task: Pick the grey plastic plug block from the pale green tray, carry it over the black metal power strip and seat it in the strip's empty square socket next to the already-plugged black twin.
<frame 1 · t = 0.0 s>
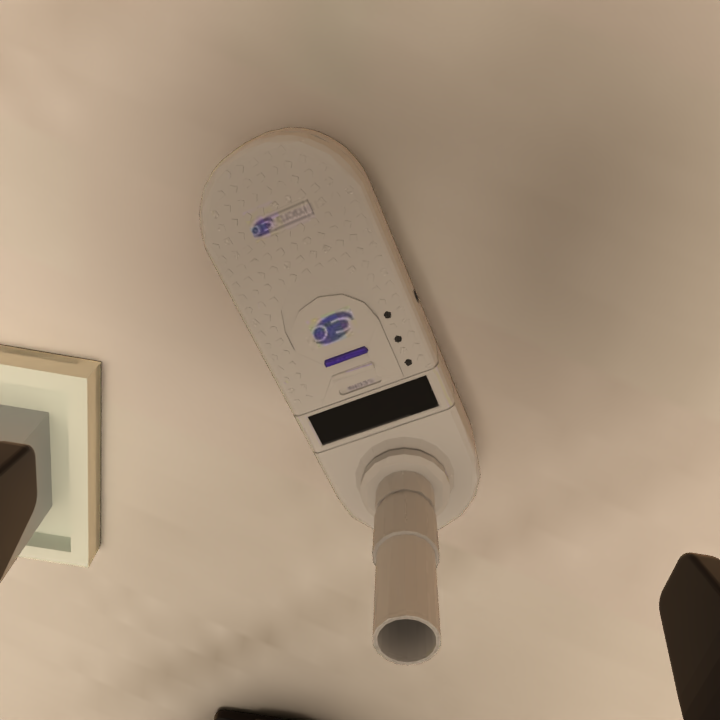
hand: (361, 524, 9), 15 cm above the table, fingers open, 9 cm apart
electronic device: (354, 330, 25), on the table
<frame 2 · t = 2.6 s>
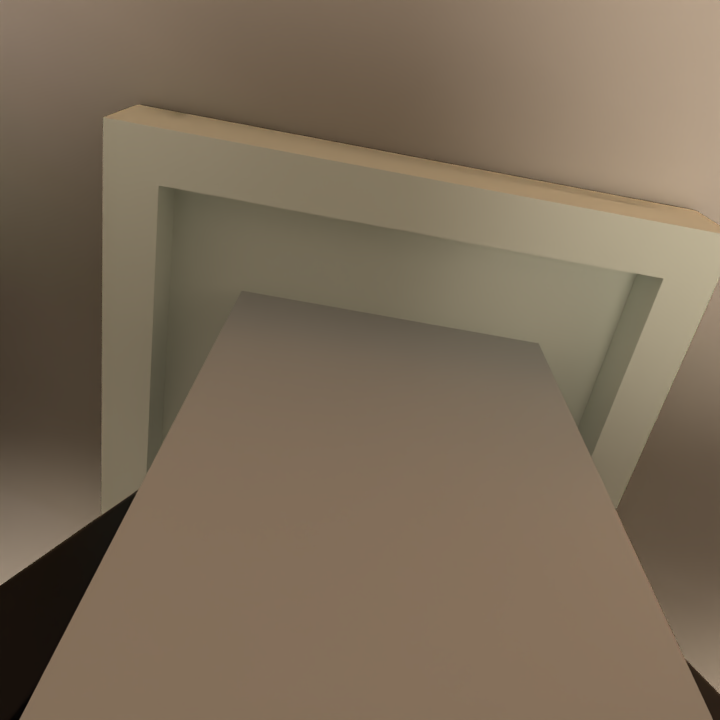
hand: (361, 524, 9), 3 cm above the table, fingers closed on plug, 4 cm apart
tray: (365, 424, 12), on the table
plug: (364, 441, 11), resting on tray, touching gripper
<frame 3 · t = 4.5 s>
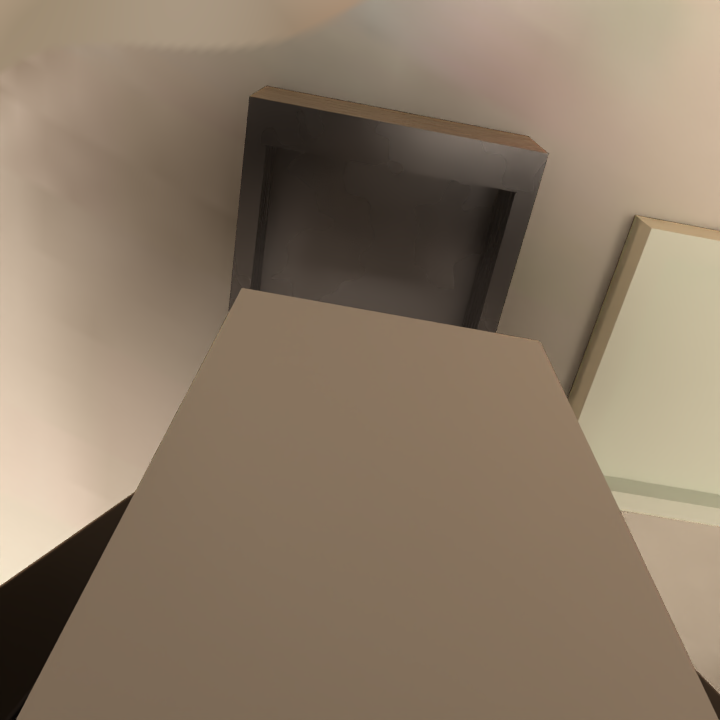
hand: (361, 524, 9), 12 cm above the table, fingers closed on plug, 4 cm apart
tray: (707, 379, 21), on the table
plug: (365, 439, 11), point 10 cm above the table, touching gripper
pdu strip: (342, 401, 22), on the table
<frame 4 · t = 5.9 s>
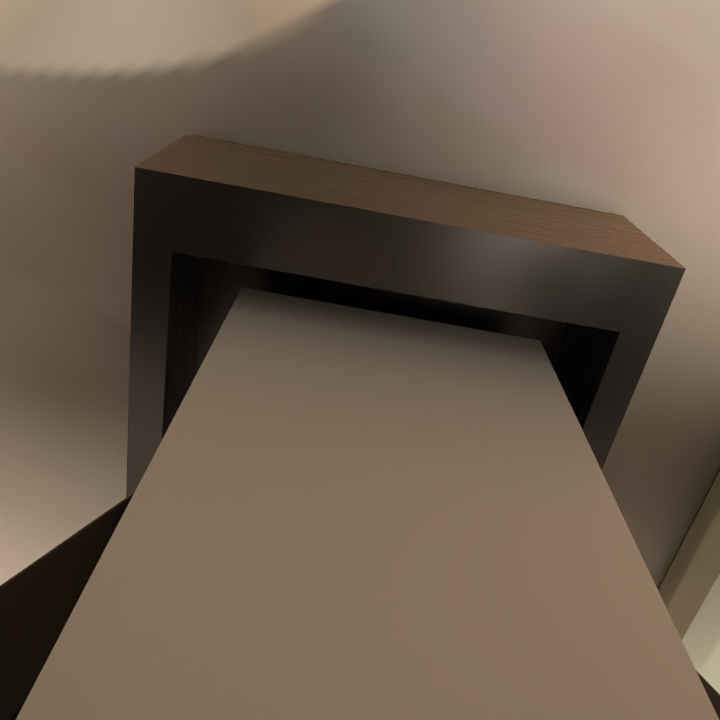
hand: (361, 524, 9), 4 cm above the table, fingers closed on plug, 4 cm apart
plug: (365, 439, 11), point 2 cm above the table, touching gripper
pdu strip: (323, 589, 15), on the table
when the fingers open (3 cm above the table, at t = 6.6 s): plug stays where it is, resting on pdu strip.
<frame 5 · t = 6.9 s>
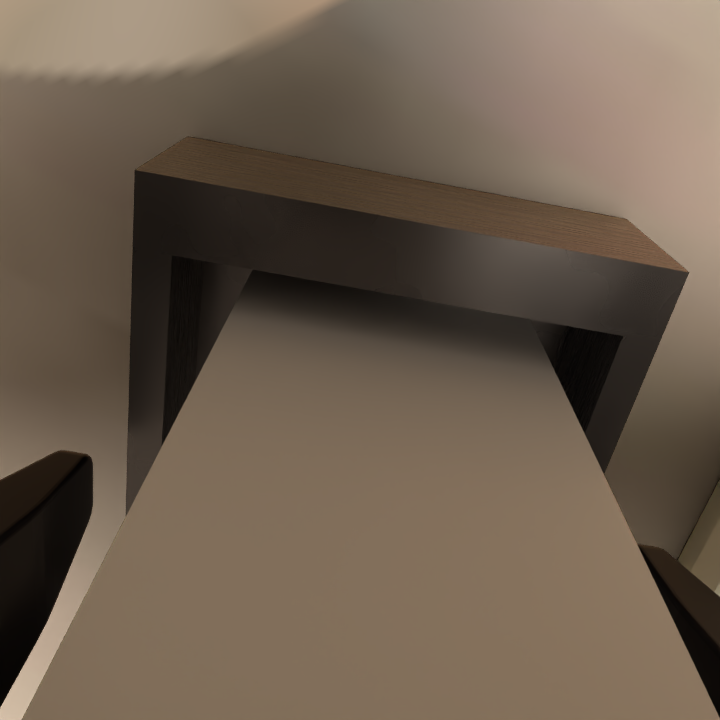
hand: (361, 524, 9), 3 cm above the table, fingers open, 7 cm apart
plug: (367, 408, 12), resting on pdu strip
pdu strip: (323, 592, 15), on the table
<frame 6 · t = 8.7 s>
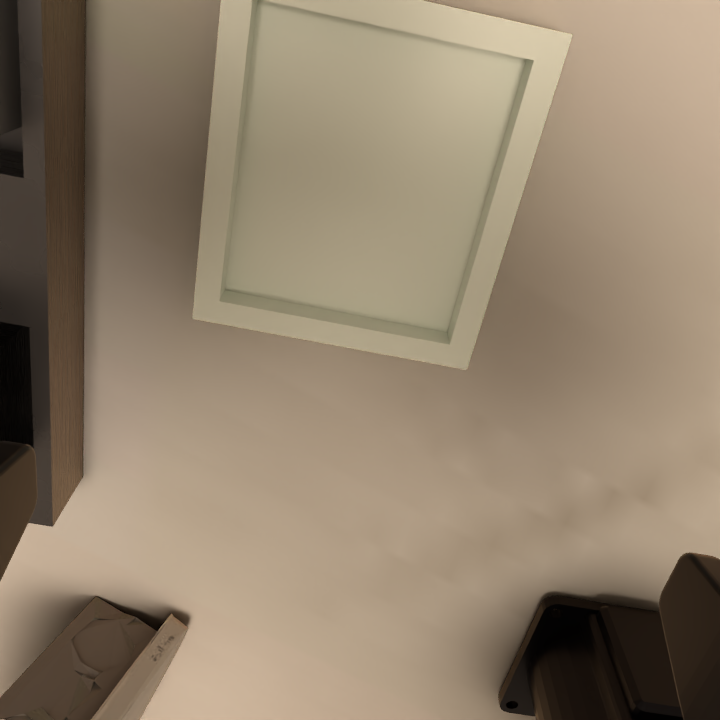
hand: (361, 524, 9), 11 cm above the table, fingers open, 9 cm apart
electrical switch: (96, 660, 29), on the table
tray: (363, 179, 19), on the table
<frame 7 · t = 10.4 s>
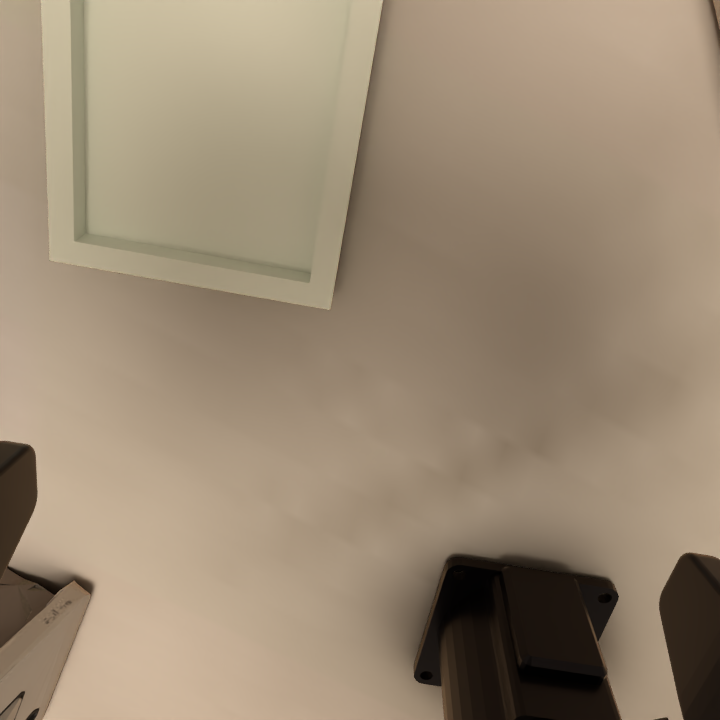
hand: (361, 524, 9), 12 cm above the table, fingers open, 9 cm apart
electrical switch: (6, 632, 28), on the table
tray: (213, 115, 18), on the table
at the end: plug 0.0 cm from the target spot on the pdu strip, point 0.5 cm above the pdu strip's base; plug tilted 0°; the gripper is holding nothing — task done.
